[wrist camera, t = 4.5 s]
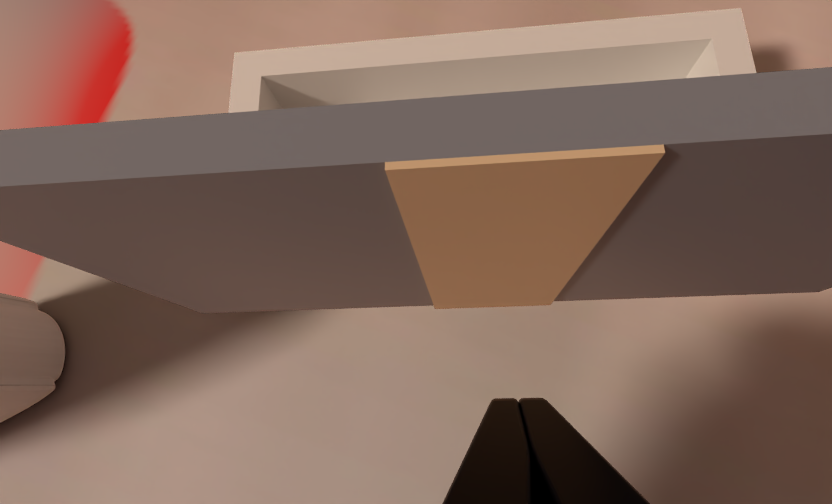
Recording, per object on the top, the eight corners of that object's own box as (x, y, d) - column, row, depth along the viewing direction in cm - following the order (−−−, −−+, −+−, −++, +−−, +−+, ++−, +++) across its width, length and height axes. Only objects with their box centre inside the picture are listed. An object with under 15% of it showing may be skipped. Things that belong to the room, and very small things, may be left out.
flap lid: (809, 261, 12) (818, 296, 12) (205, 285, 14) (202, 316, 14) (1337, 28, 5) (1394, 107, 5) (-108, 138, 6) (-132, 202, 6)
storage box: (731, 291, 16) (802, 264, 13) (261, 307, 18) (211, 287, 14) (690, 80, 18) (740, 8, 15) (275, 111, 20) (234, 52, 16)
